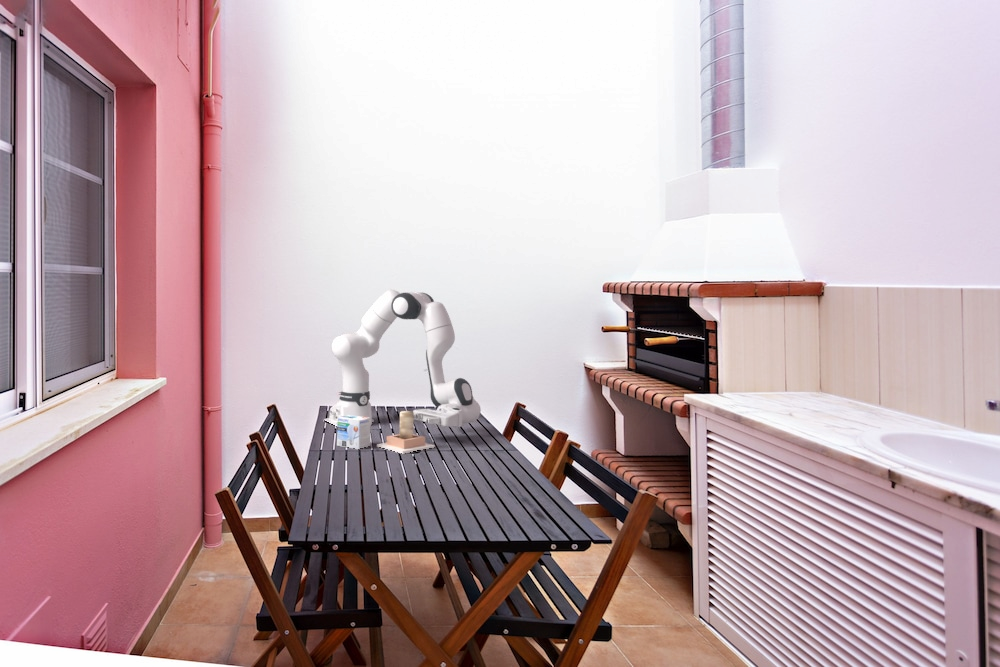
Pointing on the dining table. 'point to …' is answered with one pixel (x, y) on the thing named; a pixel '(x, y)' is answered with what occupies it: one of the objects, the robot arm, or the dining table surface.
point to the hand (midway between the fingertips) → (419, 419)
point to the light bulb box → (353, 431)
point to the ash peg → (406, 424)
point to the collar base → (405, 444)
